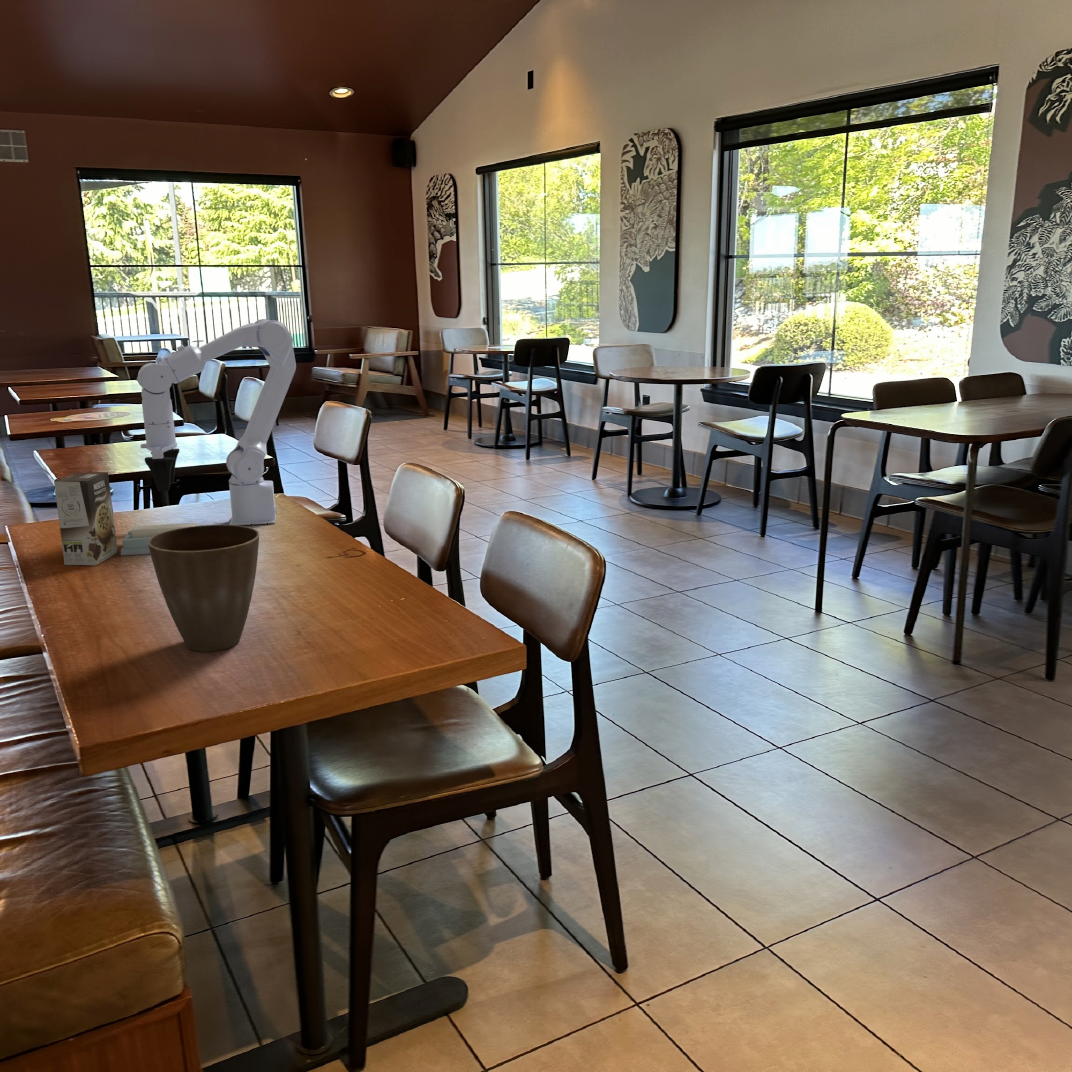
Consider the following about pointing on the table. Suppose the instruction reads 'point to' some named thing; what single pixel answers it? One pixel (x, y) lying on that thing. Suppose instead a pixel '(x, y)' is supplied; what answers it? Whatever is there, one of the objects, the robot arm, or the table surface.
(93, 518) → the food box
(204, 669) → the table surface
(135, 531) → the beige rectangular block
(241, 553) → the plant pot
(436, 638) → the table surface
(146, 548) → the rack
